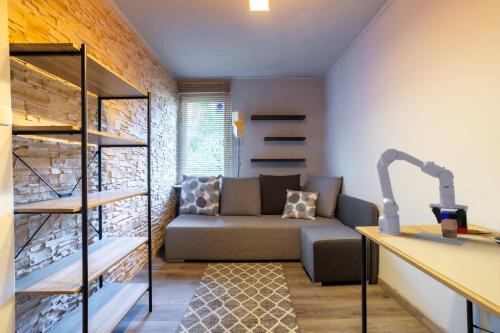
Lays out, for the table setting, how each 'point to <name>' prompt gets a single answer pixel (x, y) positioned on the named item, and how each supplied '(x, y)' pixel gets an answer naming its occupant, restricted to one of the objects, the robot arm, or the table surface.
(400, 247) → the table surface
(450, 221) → the terracotta block
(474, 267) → the table surface
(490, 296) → the table surface
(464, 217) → the puzzle toy
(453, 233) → the walnut block
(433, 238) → the mat
